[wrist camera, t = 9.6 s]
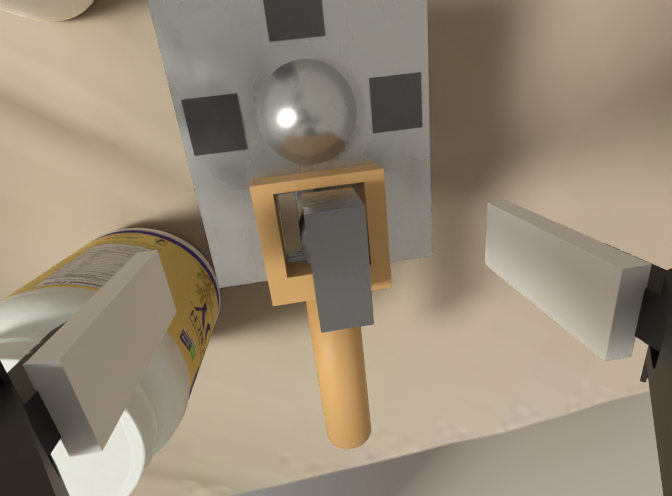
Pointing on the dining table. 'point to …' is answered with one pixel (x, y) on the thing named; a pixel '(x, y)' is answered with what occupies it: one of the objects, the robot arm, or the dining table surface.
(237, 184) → the ball joint plate
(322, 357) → the wooden handled frame
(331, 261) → the wedge pin
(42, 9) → the cup
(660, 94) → the dining table surface
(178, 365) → the supplement tub
